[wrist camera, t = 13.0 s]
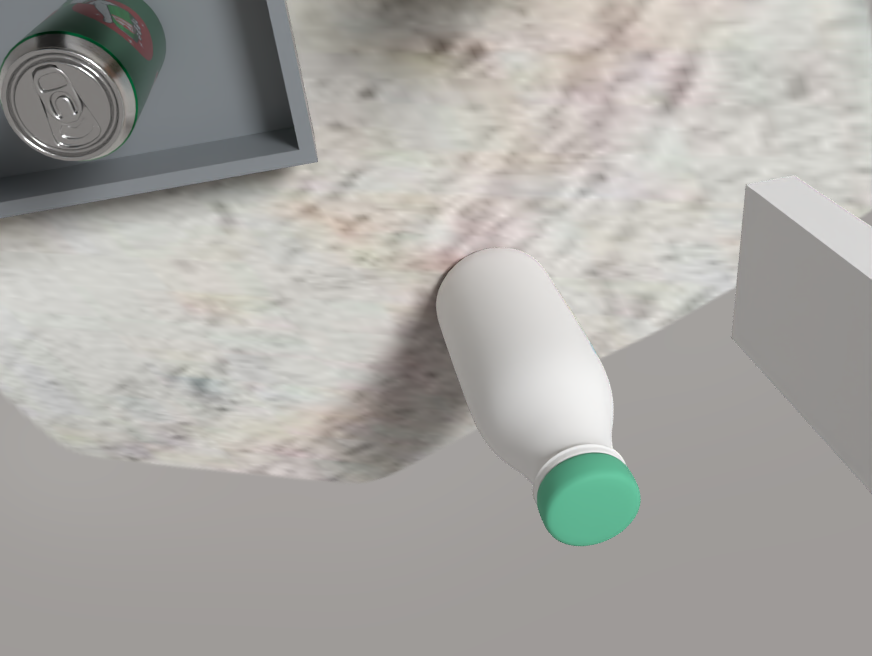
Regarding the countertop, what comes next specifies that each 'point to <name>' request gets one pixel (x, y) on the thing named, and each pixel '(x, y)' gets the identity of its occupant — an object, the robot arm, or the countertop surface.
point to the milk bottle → (537, 392)
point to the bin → (178, 108)
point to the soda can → (83, 77)
